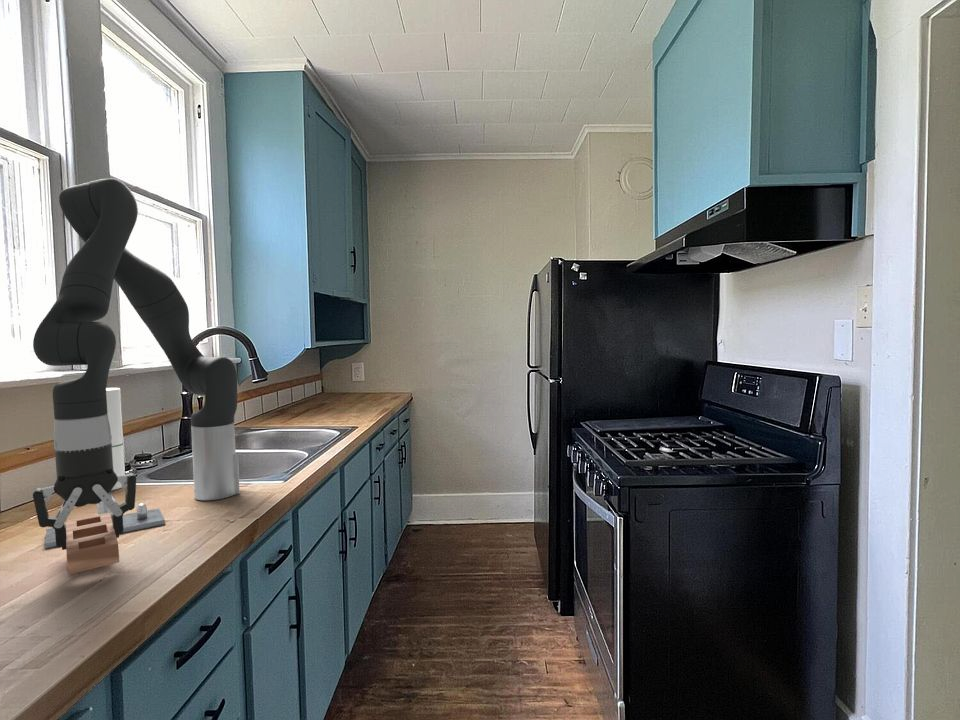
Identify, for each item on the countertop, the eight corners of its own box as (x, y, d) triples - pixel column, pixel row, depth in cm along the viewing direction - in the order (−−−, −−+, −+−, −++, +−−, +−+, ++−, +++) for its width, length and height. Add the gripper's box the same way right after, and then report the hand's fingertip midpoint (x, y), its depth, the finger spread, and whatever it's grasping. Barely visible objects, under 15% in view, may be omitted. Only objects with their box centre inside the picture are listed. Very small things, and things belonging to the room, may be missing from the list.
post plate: (159, 512, 116) (157, 483, 116) (165, 524, 109) (163, 493, 109) (46, 534, 105) (44, 502, 104) (45, 548, 98) (43, 514, 97)
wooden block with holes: (66, 537, 94) (65, 521, 94) (110, 528, 98) (109, 512, 98) (68, 574, 80) (66, 555, 80) (119, 562, 84) (118, 543, 84)
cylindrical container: (102, 483, 139) (97, 388, 137) (131, 482, 140) (126, 387, 138) (84, 492, 132) (78, 391, 130) (115, 491, 132) (109, 390, 131)
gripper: (133, 433, 95) (139, 525, 96) (27, 446, 86) (35, 547, 87) (137, 440, 89) (144, 538, 90) (25, 455, 80) (34, 562, 82)
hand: (90, 542), depth 89 cm, fingers closed on wooden block with holes, 6 cm apart
